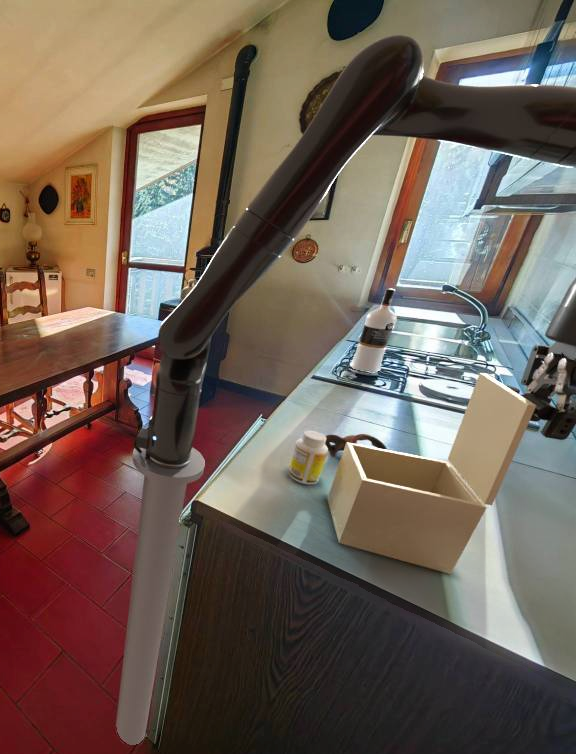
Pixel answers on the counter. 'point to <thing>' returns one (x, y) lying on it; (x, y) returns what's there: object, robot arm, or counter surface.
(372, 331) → the vodka
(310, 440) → the supplement bottle
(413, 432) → the counter surface
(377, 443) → the dark brown curved piece
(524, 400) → the chest lid
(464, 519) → the wooden keepsake chest
